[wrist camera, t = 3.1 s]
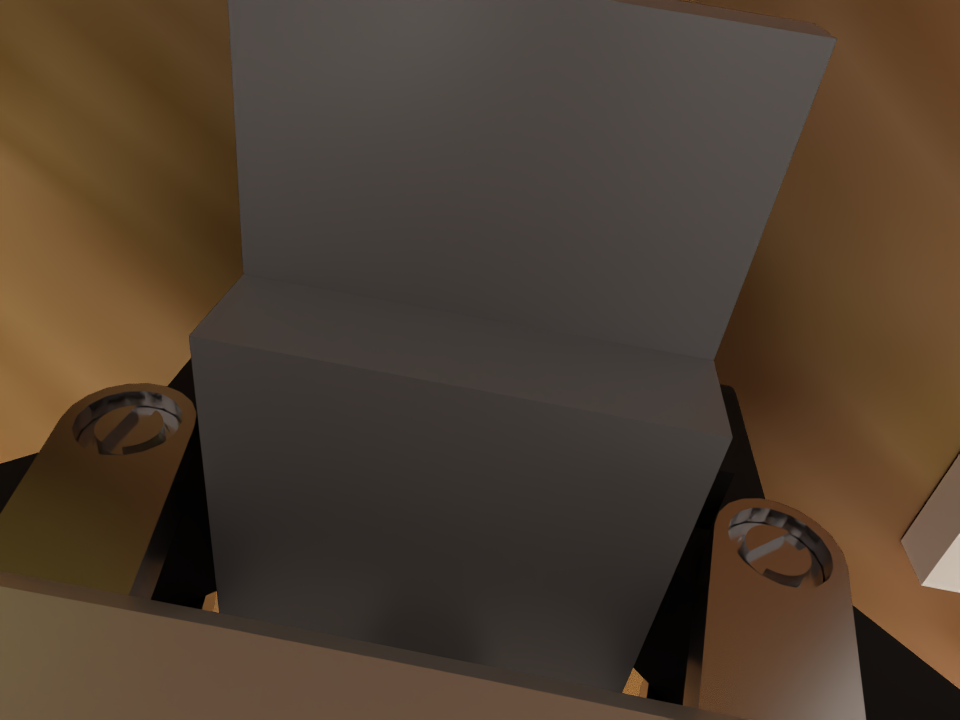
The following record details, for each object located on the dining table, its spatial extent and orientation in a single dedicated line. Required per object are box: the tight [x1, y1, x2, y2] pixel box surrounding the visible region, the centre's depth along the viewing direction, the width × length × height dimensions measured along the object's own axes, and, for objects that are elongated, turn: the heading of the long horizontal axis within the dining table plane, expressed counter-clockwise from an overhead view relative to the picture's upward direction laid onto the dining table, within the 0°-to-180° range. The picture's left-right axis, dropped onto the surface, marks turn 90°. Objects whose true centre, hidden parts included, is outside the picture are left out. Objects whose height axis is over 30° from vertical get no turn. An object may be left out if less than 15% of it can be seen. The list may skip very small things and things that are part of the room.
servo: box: [189, 0, 837, 693], centre depth 9 cm, size 11×4×7 cm, turn 172°
